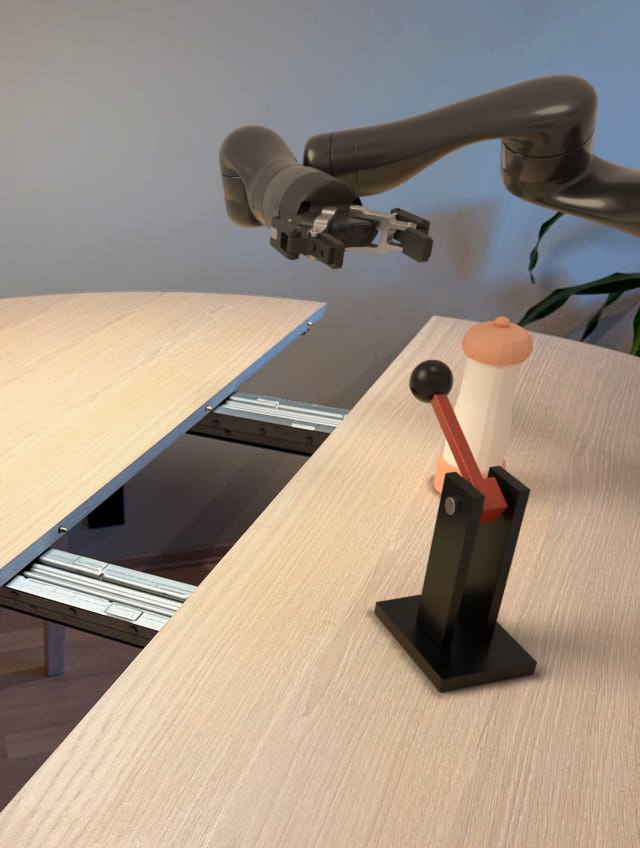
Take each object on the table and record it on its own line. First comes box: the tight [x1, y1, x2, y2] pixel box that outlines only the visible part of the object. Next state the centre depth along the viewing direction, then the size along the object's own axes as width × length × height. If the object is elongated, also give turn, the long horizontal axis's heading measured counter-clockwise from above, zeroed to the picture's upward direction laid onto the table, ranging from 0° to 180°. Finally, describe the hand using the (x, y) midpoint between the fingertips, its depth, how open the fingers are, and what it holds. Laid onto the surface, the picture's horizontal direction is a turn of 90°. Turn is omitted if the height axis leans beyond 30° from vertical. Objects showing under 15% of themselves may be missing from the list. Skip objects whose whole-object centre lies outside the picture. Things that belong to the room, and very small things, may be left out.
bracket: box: [373, 466, 538, 693], centre depth 82 cm, size 12×9×16 cm
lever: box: [408, 359, 508, 524], centre depth 81 cm, size 15×4×4 cm, turn 16°
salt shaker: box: [433, 316, 534, 495], centre depth 105 cm, size 7×7×19 cm
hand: (383, 254), depth 87 cm, fingers open, 8 cm apart
